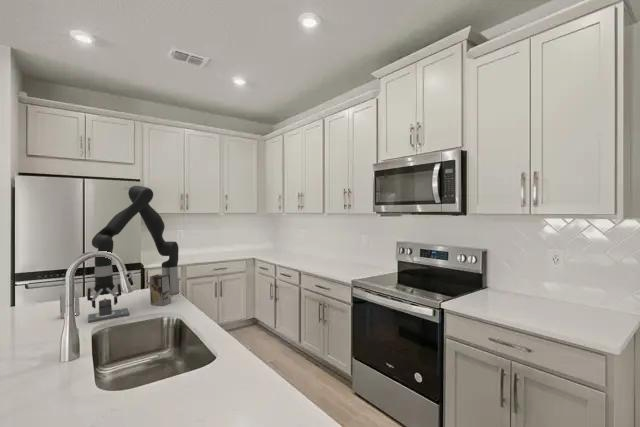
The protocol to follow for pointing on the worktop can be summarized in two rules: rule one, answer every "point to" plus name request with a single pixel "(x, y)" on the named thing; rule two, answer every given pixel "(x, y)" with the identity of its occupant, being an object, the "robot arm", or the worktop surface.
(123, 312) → the control panel
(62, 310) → the milk bottle
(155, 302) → the coffee box
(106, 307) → the knob
